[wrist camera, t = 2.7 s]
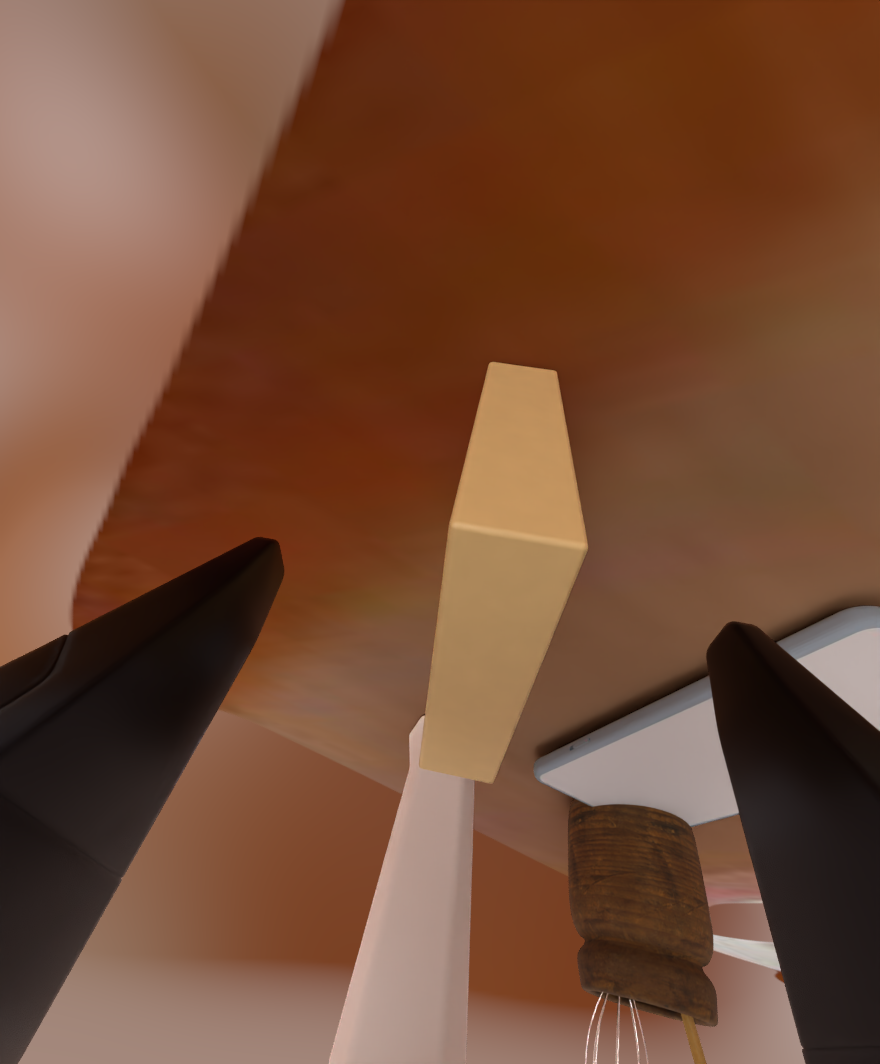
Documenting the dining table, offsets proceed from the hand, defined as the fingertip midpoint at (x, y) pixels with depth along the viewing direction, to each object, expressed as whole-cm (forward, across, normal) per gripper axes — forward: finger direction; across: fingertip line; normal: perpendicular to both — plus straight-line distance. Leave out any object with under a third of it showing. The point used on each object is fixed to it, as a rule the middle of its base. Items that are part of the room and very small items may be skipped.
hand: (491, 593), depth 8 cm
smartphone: (+4, -11, +10) cm, 15 cm away
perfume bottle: (+4, 0, +15) cm, 16 cm away
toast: (+4, 0, 0) cm, 4 cm away
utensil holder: (+4, -10, +18) cm, 21 cm away
